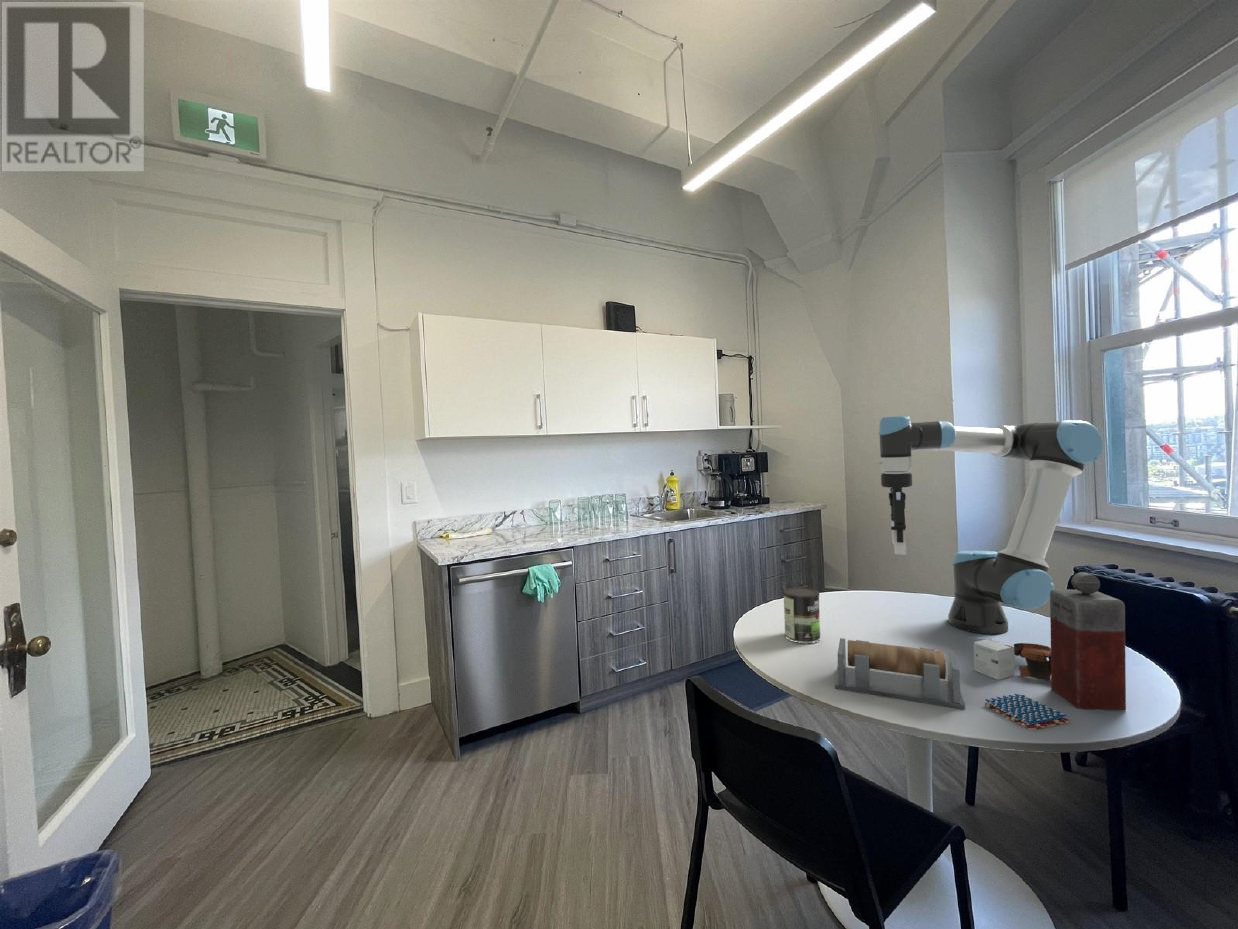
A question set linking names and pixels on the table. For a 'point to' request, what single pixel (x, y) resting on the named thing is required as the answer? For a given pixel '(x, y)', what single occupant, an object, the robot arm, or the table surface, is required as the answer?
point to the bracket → (901, 681)
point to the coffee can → (801, 614)
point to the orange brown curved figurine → (1034, 660)
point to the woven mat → (1026, 711)
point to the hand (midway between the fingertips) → (898, 549)
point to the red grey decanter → (1088, 645)
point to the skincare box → (994, 659)
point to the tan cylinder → (896, 657)
